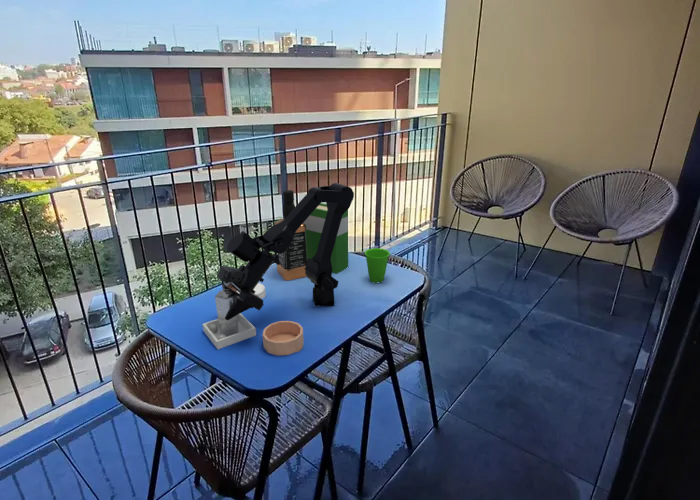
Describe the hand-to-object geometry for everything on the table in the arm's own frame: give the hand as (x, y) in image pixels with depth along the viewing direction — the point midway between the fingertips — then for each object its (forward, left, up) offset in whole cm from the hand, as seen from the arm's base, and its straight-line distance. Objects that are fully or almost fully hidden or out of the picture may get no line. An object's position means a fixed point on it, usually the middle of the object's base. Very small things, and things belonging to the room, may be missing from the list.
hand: (222, 315), depth 115 cm
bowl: (-17, +5, -7) cm, 19 cm away
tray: (-1, -1, -7) cm, 7 cm away
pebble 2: (0, +4, -6) cm, 7 cm away
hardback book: (-28, -49, -7) cm, 57 cm away
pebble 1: (+3, -2, -6) cm, 7 cm away
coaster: (-3, -24, -7) cm, 25 cm away
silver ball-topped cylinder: (-1, -1, -6) cm, 7 cm away
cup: (-47, -34, -7) cm, 58 cm away
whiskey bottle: (-16, -42, -7) cm, 45 cm away
